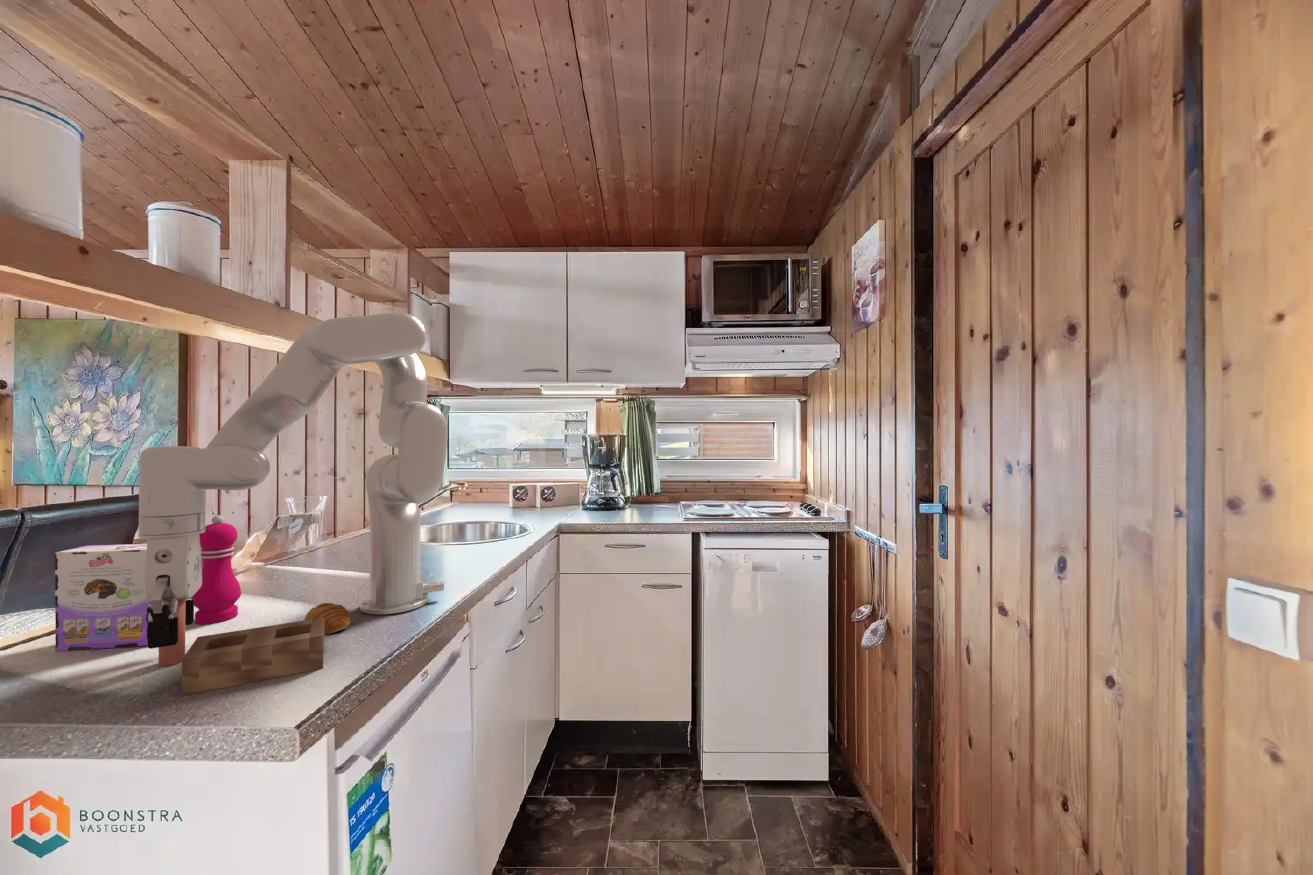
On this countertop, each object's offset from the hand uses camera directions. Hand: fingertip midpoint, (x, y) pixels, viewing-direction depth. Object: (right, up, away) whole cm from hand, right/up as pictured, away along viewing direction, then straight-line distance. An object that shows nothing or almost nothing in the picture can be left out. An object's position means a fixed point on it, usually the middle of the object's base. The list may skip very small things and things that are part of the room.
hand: (172, 635), depth 78 cm
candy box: (-16, -4, +7) cm, 19 cm away
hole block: (+15, -4, -2) cm, 16 cm away
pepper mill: (-10, -4, +19) cm, 22 cm away
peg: (0, -4, 0) cm, 4 cm away
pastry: (+15, -5, +16) cm, 22 cm away
